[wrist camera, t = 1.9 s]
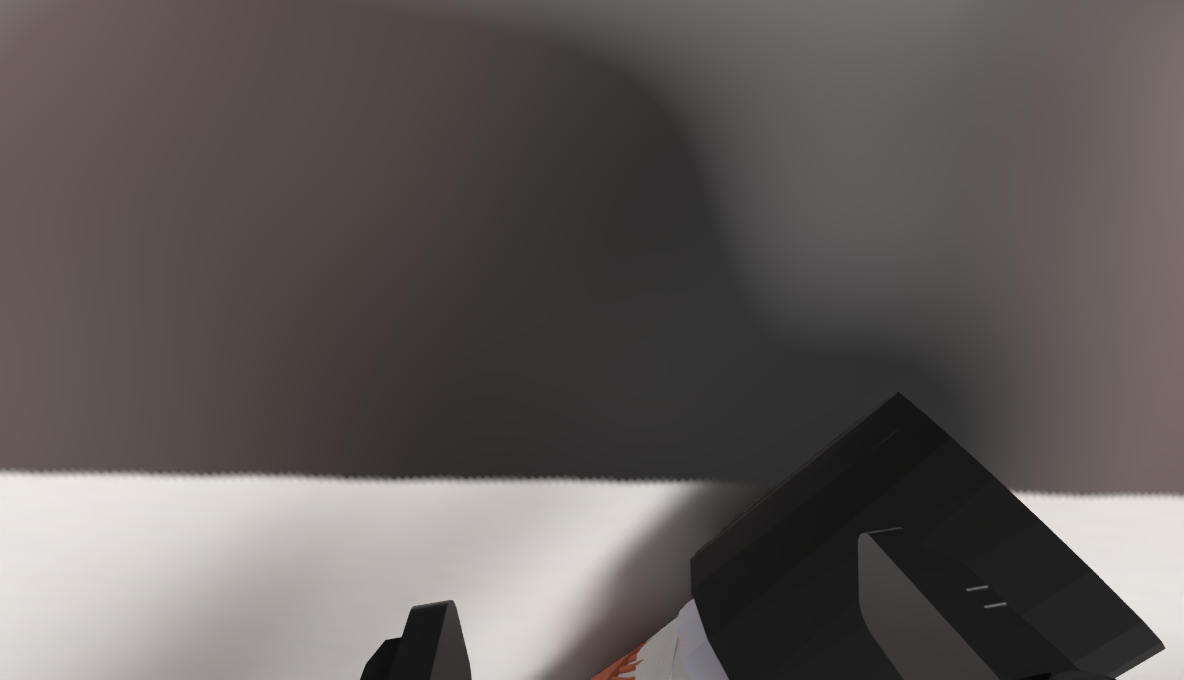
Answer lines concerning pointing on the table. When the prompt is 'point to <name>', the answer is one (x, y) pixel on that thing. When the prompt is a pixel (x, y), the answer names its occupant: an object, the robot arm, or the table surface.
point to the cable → (830, 566)
